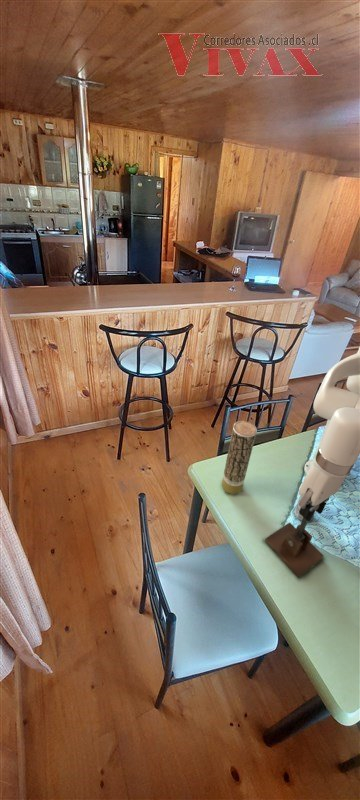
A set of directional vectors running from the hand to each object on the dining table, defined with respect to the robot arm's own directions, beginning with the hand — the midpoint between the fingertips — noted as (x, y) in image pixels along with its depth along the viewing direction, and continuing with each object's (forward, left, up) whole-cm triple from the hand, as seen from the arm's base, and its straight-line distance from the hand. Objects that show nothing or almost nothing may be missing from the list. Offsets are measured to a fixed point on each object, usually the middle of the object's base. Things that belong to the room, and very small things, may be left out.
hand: (310, 512), depth 82 cm
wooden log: (0, -26, -17) cm, 31 cm away
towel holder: (0, 0, -17) cm, 17 cm away
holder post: (0, -2, -4) cm, 5 cm away
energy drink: (-12, -6, -17) cm, 22 cm away
